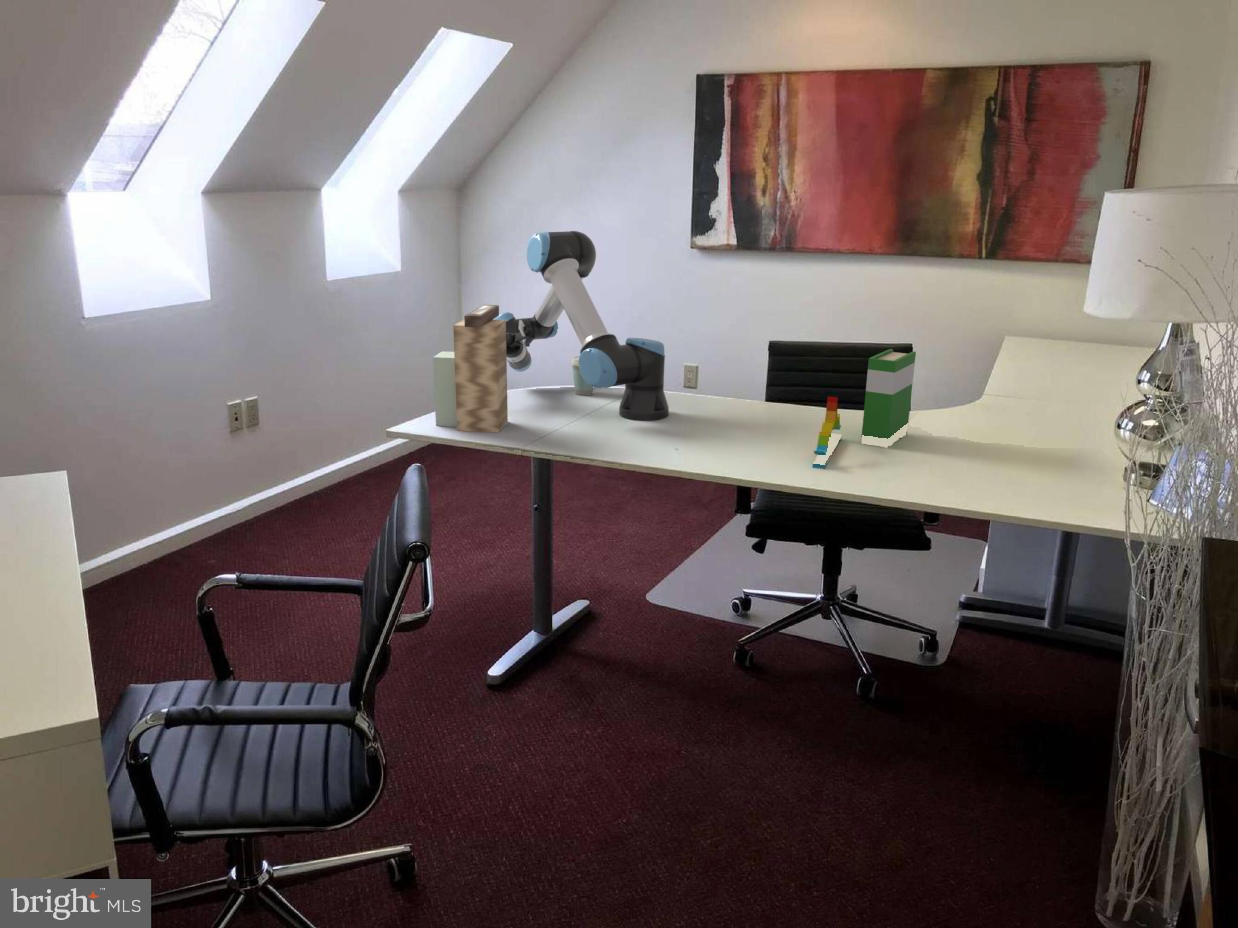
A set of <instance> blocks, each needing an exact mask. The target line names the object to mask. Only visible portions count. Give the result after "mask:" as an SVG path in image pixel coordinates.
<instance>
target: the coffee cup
mask: <svg viewBox="0 0 1238 928" xmlns="http://www.w3.org/2000/svg"><path fill="white" fill-rule="evenodd" d="M579 357H580V355H578V356H574V357H572V360H571V366H572V375H573V384H574V385H573V386H574V394H575V395H577V396H591V395H593V394H594V387H592V386H590V385H589V384H587V383H586V382H585V380H584V379H583V377H582V375H581V373H580V370H579V367H580V365H579Z"/></svg>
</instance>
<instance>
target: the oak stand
mask: <svg viewBox="0 0 1238 928" xmlns="http://www.w3.org/2000/svg"><path fill="white" fill-rule="evenodd" d="M452 326H453V328H452V329H453V330H452V331H453V352H454V359H455V386H456V413H457V426H456V430H457V432H458V431H459V432H478V433H479V432H480V433H481V432H482V433H500V431H502V429H503V428H504V427H505V425H506V424H507V423H508V421H509V418H508V416H509V415H508V413H509V412H508V409H509V408H508V374H507V373H508V372H507V371H508V368H507V367H508V364H507V363H508V361H507V359H506V320H494V319H493V320H491V321H490V322H488V323H487V324H485V325H484V326H482V327H465V320H464V319H462V320H460V321H458V322H456V323H455V324H453V325H452Z"/></svg>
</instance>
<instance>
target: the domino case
mask: <svg viewBox="0 0 1238 928" xmlns="http://www.w3.org/2000/svg"><path fill="white" fill-rule="evenodd" d="M499 315H500V305H499V304H497V305H496V304H483V305H481V306H479V307H477V308H476V309H474V310H472V311H470V312H468V313H467V314H466V315H464V317H463V318H464V320H465V327H482V326H484V325H485V324H487V323H488V322H490V321H491V320H494V319H495V318H496V317H498V316H499Z"/></svg>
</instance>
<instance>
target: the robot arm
mask: <svg viewBox="0 0 1238 928" xmlns="http://www.w3.org/2000/svg"><path fill="white" fill-rule="evenodd" d="M596 259H597V251H596V247H595V244H594V242H593V241H592V239H591V238H590V237H589V236H588V235H587V234H586V233H583V232H581V231H577V230H570V231H568V230H567V231H544V232H543V231H542V232H536V233H535V234H533V235H532V236H531V237H530V238H529V241H528V242H527V247H526V262H527V266H528V267H529V269H530V271H532V272H534V273H540V274H541V276H542V277H543V280H544V282H546V283H548V284H551V285H550V287H549V289H548V291H547V292H546V294H545V296H544V298H543V299H542V300H541V303H540V305H539V306H538V308H537V310H536V311H535V313H534V315H533V316H532V317H524V318H516V317H515V316H514V313H512V312H507V311H506V312H502V313H499V316H498V317H496V318H495V319H493V320H506V359H507V363H508V365H509V367H511V369H513V370H514V371H516V372H521V373H522V372H525V371H527V370H528V369H530V367H531V365H532V357H531V354H530V352H529V350H528V348H529V347H530V344H531V343H532V342H533V341H535V340H546V339H550V338H554V337H556V335H557V334H558V329H559V323H558V319H559V318H560V316H561V315H562V313H563V311H565V314H566V316H567V318H568V320H569V322H570V324H571V326H572V328H573V331H574V332H575V334H576V336H577V338H578V340H579V342H580V344H581V347H580V350H579V353H580V355H579V356H580V357H579V365H580V367H579V370H580V373H581V375H582V377H583V379H584V380H585V382H586V383H587V384H589V385H590V386H592V387H593V388H596V389H602V388H603V389H606V388H607V389H608V388H609V389H610V388H611V387H617V386H623V385H624V393H623V395H622V399H621V400H620V403H619V409H618V414H619V416H621V417H623V418H624V419H630V420H636V421H654V420H663V419H665V418H667V417H669V410H670V409H669V405H668V400H667V397H666V393H665V391H664V388H665V387H664V386H665V385H664V384H665V359H666V355H665V345H664V343H663V342H661V341H659V340H656V339H648V338H639V337H627V338H626V340H625V344H620V343H619V341H618V338H617V336H616V335H615V334H613V333H609V332H608V330H607V328H606V326H605V324H604V322H603V320H602V318H601V316H600V315H599V314H600V313H599V312H598V309H597V308H596V306H595V304H594V302H593V300H592V298H591V296H590V294H589V292H588V290H587V288H586V286H585V284H584V282H583V279H585V278H587V277H589V275H590V273H591V272H592V271H593V269H594V266H595V263H596ZM527 347H528V348H527Z"/></svg>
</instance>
